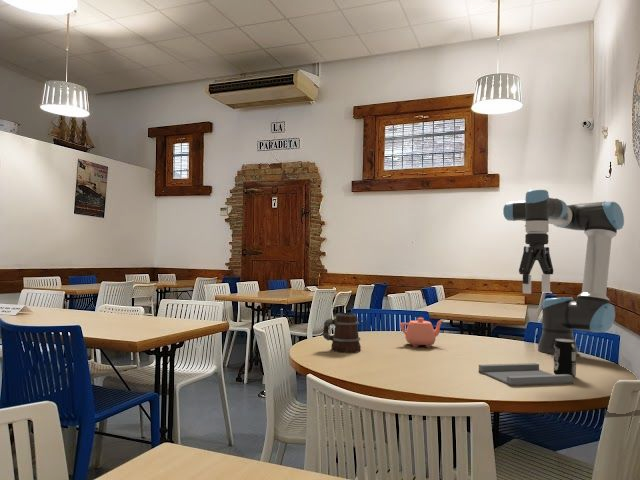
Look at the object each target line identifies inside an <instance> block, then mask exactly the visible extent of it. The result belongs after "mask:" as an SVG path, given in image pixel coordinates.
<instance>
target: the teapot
mask: <svg viewBox="0 0 640 480" xmlns="http://www.w3.org/2000/svg"><path fill="white" fill-rule="evenodd" d="M416 319H417V320H410V321H409V322H401V323H399V329H400V330H401V331H402V333H403V334H404V335H405V340H406V342H407V343H408V344H409V345H410V346H411V345H412V348H419V346H425V348H432V345H434V344H435V342H436V338H437V337H438V336H439V335H440V331H441V330H440V329H441V326H442V323H443V322H444V321H445V319H441V320H438V321H437V323H436V327H435V329H434V326H433V324H432V322H431V321H428V320H425V319H424V317H417V318H416ZM405 326H407V328H406V329H405Z"/></svg>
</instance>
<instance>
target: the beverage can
mask: <svg viewBox="0 0 640 480" xmlns="http://www.w3.org/2000/svg"><path fill="white" fill-rule="evenodd" d="M555 340H556V341H555V343H554V354H553V374H554V375H559V374H569V375H572V376H573V378H575V377H576V376H577V372H576V371H577V354H576V346H577V344H576V345H575V343H576V342H575V343H574V340H570V339H555Z"/></svg>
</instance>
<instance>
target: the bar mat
mask: <svg viewBox="0 0 640 480" xmlns="http://www.w3.org/2000/svg"><path fill="white" fill-rule="evenodd" d="M478 372H479V373H481V374H483V375H485V376H487V377H490V378H492V379H493V380H494V379H495V380H497V381H499V382H501V383H504V384H506V385H507V386H510V387H513V386H514V387H516V386H539V385H540V386H541V385H543V386H544V385H566V384H567V385H568V384H573V383H574V377H573V376H572V375H569V374H559V375H555V374H554V373H549V372H547V371H544V370H542V369H540V364H539V363H536V362H531V363H530V362H528V363H526V362H525V363H498V364H496V363H494V364H493V363H491V364H488V363H487V364H478Z"/></svg>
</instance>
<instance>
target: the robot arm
mask: <svg viewBox="0 0 640 480" xmlns="http://www.w3.org/2000/svg"><path fill="white" fill-rule="evenodd" d="M524 199H525V200H518V201H515V200H514V201H508V202H507V203H505V204H504V206H503V208H502V209H503V217H504V219H505V220H507V221H508V222H509V221H511V222H512V221H513V222H515V221H517V222H518V221H522V222H525V224H524V227H525V233H526V234H525V240H524V241H525V244H526V246H525V245H524V246H523V253H522V257H521V260H520V264H519V268H518V273H519V275H522V294H528V295H529V294H530V295H531V294H532V274H531V272H532V269H533V267H534V265H535V263H536V261H537V262H538V264H539V266H540V269H541V271H542V273H543V274H542V273H541V293H551V275H553V274H554V268H553V264H552V263H553V262H552V258H551V255H550V247H549V246H545V245H548V244H549V234H548V233H549V224H550V225H553V226H554V227H557V228H561V229H562V228H563V229H565V230H566V229H567V230H574V231H584V234H585V236H586V237H587V242H586V250H585V252H586V253H585V260H584V261H585V262H584V270H583V279H582V287H581V292H580V293H579V294H578V295H577V296H576V300H574V297H572V296H570V297H569V296H568V297H567V296H566V297H565V296H564V297H551V298H549V297H547V298H544V299H543V301H542V309H541V310H542V334H541V336H540V339H539V342H538V343H537V345H538V346H537V351H539V352H542V353H546V354H551V355H554V343H555V341H556V340H555V339H570V340H574V343H575V345H576V355H578V350H579V349H578V346H577V343H576V340H575V336H574V330H579V331H585V332H591V333H607V332H608V331H610V329H611V328H612V326H613V324H614V321H615V318H616V308H615V306H614V305H613V304H612V303H611V299H609V297H608V296H607V289H608V280H609V269H610V260H611V259H610V257H611V249H612V247H611V246H612V239H613V238H614V237H616V236H617V232H618V230H621V229H623V227H624V224H625V216H624V213H623V209H622V208H621V206H620V205H619V203H618V202H616V201H604V200H603V201H597V202H585V203H576V204H570V205H567V203H566V202H565V201H564V200H562V199H559V198H553V197H550V194H549V191H548V190H546V189H530V190H528V191H526V193H525V198H524ZM527 245H528V246H527Z"/></svg>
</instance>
